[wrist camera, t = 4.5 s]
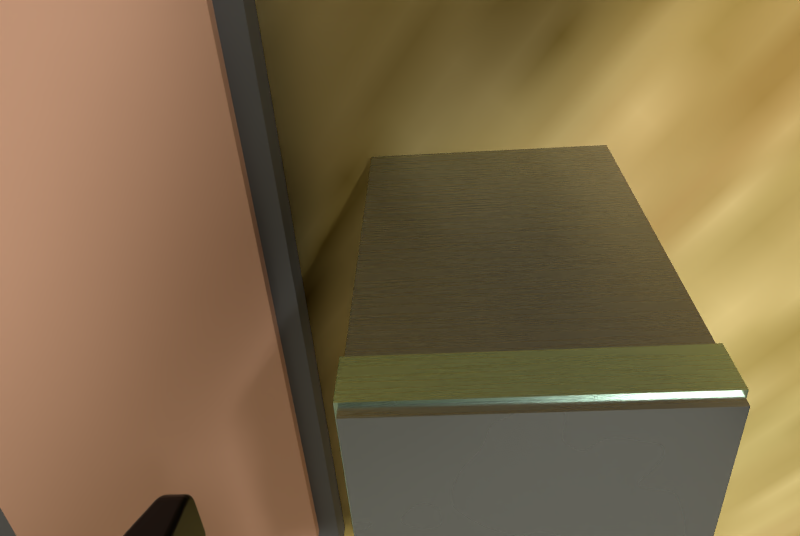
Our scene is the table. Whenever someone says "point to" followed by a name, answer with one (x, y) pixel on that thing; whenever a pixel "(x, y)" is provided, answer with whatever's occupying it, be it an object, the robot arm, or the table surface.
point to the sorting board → (151, 277)
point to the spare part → (527, 357)
